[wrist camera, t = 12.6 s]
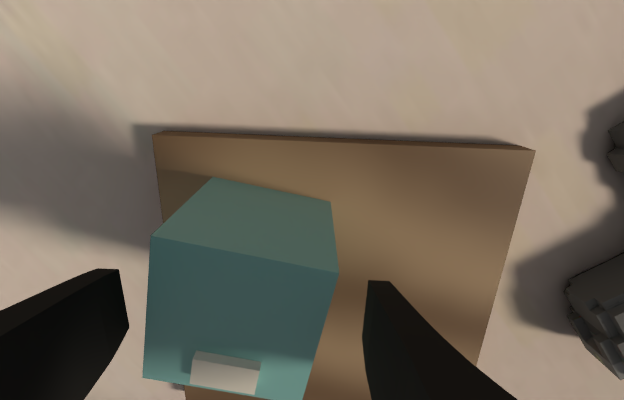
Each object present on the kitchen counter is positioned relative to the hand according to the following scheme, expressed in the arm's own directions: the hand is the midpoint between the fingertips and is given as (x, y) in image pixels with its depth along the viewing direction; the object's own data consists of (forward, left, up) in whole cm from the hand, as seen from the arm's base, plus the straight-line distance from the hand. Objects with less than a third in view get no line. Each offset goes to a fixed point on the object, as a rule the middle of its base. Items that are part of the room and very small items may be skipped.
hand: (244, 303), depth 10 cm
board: (-3, -3, -5) cm, 7 cm away
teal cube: (0, 0, -4) cm, 4 cm away
